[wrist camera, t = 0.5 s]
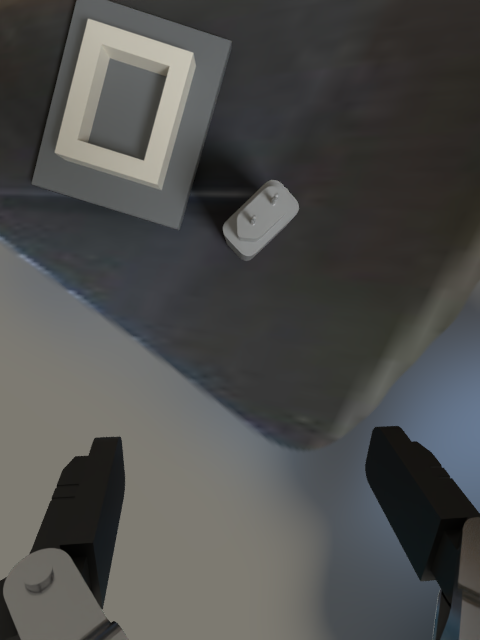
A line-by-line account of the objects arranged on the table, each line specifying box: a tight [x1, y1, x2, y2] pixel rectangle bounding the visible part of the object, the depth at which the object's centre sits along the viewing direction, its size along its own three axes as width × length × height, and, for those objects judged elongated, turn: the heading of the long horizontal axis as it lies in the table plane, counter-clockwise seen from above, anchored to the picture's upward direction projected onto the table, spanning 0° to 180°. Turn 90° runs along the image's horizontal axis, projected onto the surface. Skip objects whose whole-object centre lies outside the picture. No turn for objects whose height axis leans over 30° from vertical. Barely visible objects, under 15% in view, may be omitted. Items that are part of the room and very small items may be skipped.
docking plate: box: [32, 0, 232, 231], centre depth 33 cm, size 16×13×3 cm
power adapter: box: [223, 180, 299, 261], centre depth 30 cm, size 3×5×12 cm, turn 134°
